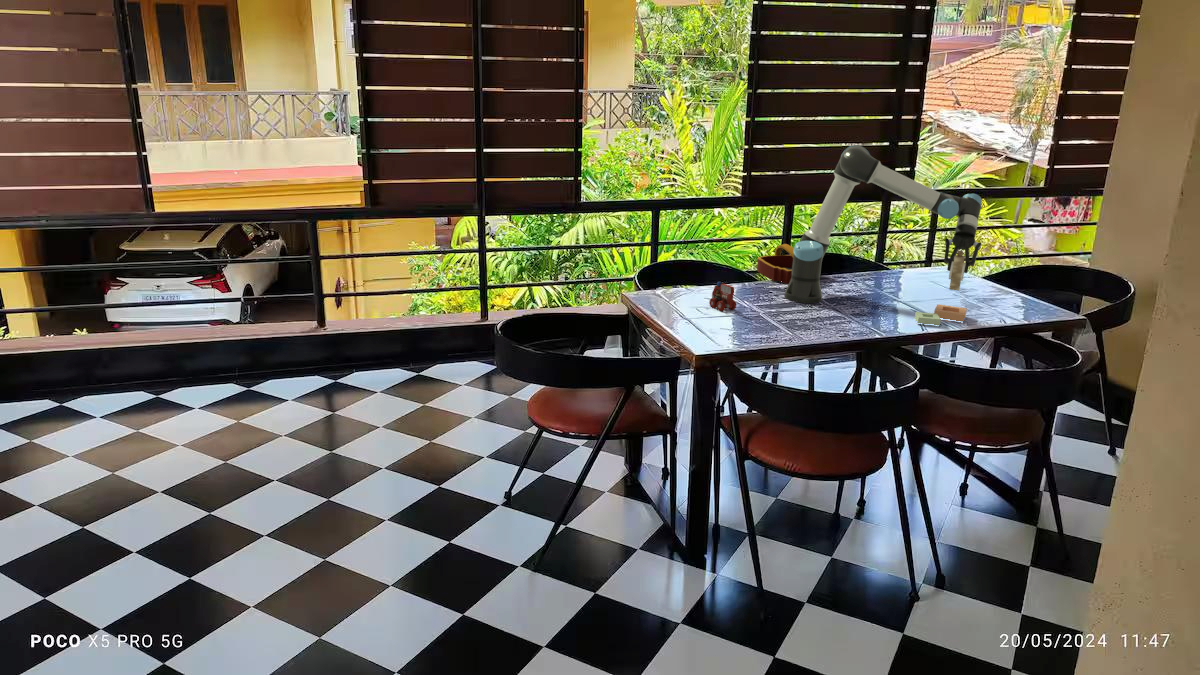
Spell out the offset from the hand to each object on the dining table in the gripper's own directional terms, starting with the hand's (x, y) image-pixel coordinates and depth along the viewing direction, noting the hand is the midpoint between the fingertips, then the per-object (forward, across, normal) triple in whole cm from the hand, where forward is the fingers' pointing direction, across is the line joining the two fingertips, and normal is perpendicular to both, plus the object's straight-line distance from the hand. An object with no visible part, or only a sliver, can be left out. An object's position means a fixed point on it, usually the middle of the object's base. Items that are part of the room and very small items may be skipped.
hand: (955, 278), depth 323 cm
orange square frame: (+9, 0, -15) cm, 17 cm away
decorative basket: (-15, +74, -40) cm, 85 cm away
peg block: (+1, 0, -6) cm, 6 cm away
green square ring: (+18, +7, -5) cm, 21 cm away
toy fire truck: (+36, +81, +12) cm, 90 cm away
